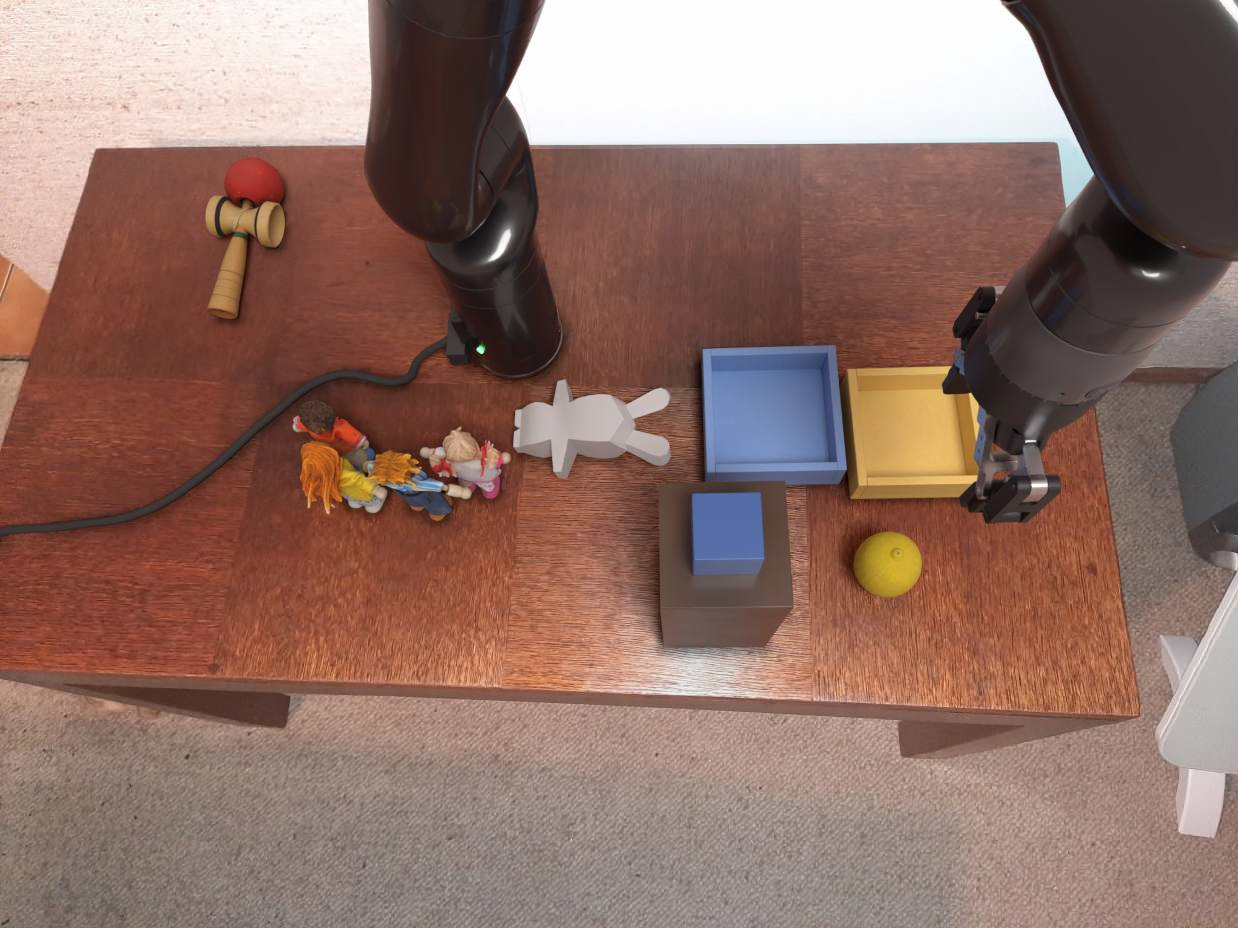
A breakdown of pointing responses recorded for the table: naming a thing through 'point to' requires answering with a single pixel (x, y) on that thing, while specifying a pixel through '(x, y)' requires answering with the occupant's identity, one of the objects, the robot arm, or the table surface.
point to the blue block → (727, 533)
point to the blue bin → (772, 415)
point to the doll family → (389, 466)
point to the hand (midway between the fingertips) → (965, 445)
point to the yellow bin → (907, 434)
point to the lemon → (887, 564)
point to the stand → (722, 602)
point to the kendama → (243, 225)
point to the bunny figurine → (589, 428)
